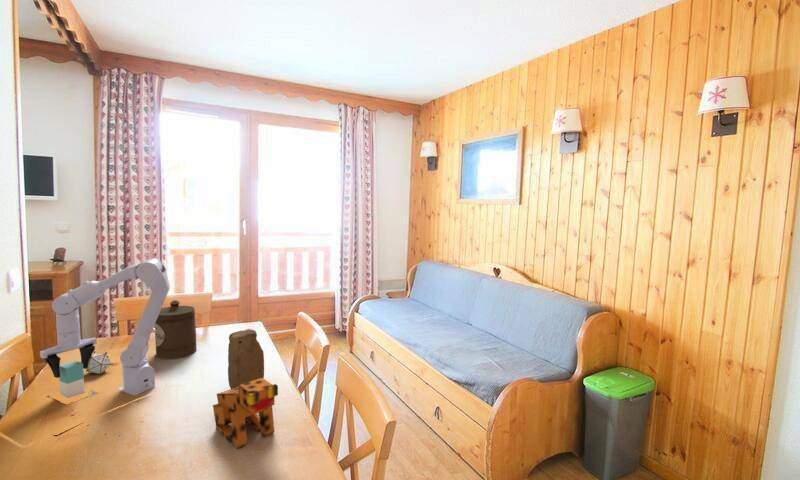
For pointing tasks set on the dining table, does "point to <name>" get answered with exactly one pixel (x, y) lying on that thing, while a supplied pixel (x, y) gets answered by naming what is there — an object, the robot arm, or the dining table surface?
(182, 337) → the wooden container
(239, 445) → the toy animal
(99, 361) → the game die
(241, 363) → the block
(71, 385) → the cream brick
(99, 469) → the dining table surface
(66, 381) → the teal brick
